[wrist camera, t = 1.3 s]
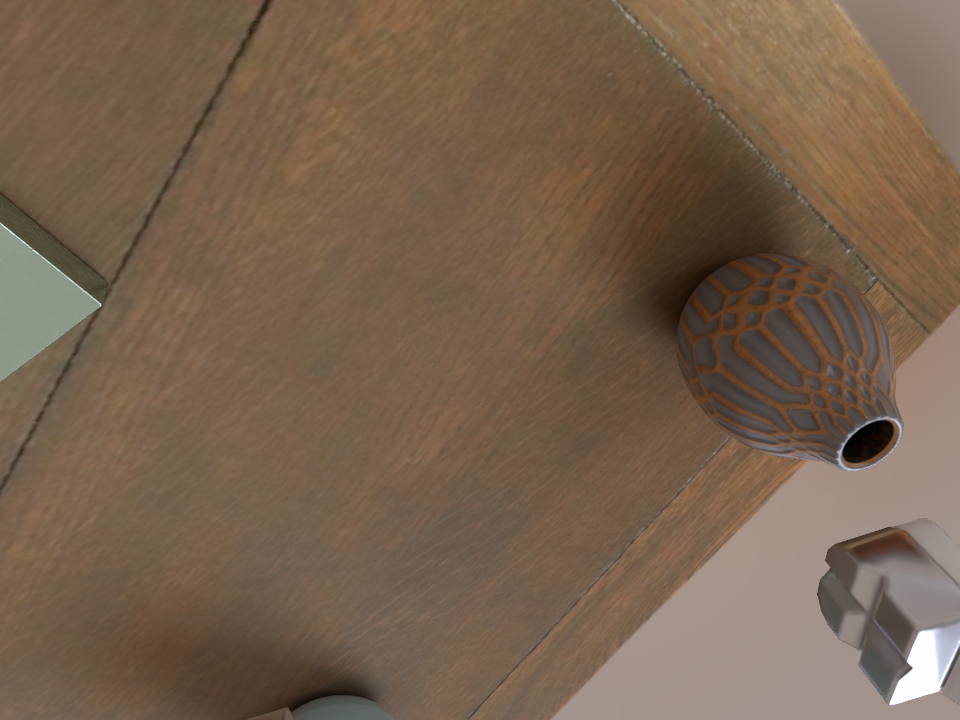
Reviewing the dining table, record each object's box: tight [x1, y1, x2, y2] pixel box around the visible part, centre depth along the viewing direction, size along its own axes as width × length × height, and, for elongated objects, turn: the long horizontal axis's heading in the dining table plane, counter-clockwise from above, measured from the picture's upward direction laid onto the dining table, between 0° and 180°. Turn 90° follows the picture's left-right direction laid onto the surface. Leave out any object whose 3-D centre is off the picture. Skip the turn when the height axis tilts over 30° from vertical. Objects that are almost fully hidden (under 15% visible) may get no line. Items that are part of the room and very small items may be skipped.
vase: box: [676, 253, 904, 471], centre depth 27 cm, size 7×7×9 cm
